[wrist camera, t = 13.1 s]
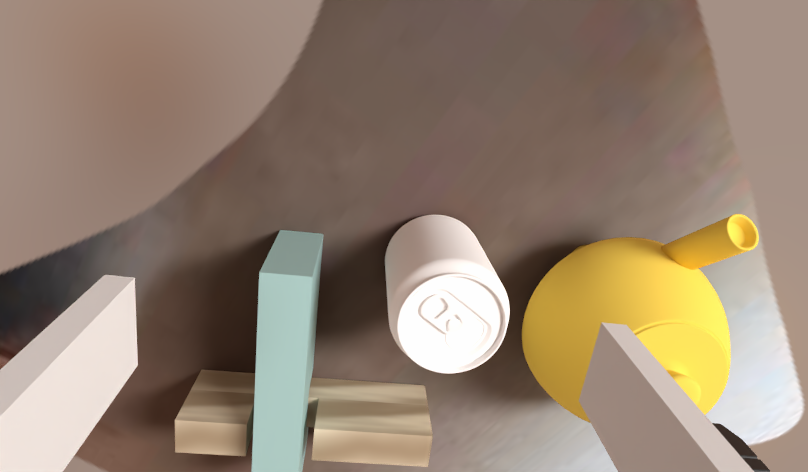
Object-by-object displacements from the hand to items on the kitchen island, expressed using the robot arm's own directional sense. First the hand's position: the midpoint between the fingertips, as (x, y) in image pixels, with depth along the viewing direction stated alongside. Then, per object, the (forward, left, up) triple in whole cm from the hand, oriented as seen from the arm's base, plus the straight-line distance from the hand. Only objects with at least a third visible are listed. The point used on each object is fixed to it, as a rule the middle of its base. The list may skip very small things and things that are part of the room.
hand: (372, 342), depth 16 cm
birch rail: (+22, -3, -29) cm, 37 cm away
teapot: (+9, +22, -30) cm, 38 cm away
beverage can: (+8, +6, -30) cm, 31 cm away
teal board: (+17, -5, -29) cm, 34 cm away
